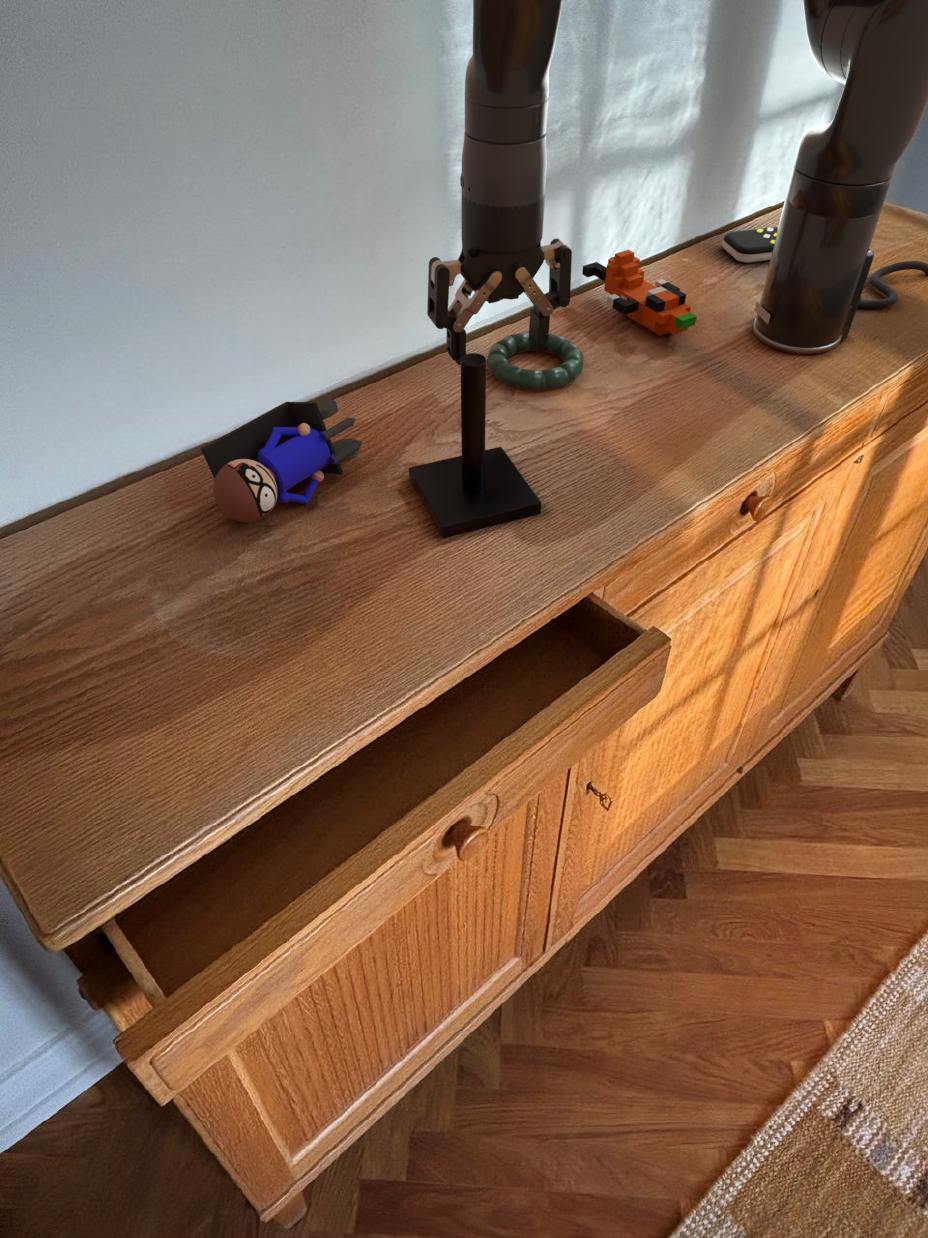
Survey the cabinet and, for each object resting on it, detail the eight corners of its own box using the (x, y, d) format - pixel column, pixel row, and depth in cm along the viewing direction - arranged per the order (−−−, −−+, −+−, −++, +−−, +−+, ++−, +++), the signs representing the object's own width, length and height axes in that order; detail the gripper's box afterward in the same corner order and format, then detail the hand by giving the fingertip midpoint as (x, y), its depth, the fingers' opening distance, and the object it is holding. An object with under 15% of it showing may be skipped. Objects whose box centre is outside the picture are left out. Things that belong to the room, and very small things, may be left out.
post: (500, 456, 81) (504, 323, 71) (540, 513, 75) (550, 375, 65) (409, 478, 78) (400, 343, 69) (442, 538, 73) (438, 399, 63)
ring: (557, 338, 96) (558, 321, 95) (598, 382, 90) (600, 364, 88) (473, 355, 94) (473, 338, 92) (509, 401, 87) (510, 383, 86)
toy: (632, 234, 101) (722, 282, 92) (625, 284, 106) (712, 334, 97) (577, 250, 98) (665, 300, 89) (573, 301, 103) (657, 354, 94)
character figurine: (378, 473, 79) (248, 556, 72) (324, 439, 82) (194, 514, 75) (375, 401, 74) (233, 483, 66) (317, 367, 77) (175, 441, 69)
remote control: (717, 245, 113) (720, 230, 112) (805, 235, 115) (809, 220, 114) (739, 265, 109) (742, 249, 108) (830, 254, 111) (834, 238, 110)
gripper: (442, 212, 73) (445, 384, 85) (594, 191, 77) (576, 359, 88) (414, 182, 78) (420, 349, 90) (557, 163, 82) (545, 326, 93)
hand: (497, 353), depth 89 cm, fingers open, 8 cm apart
